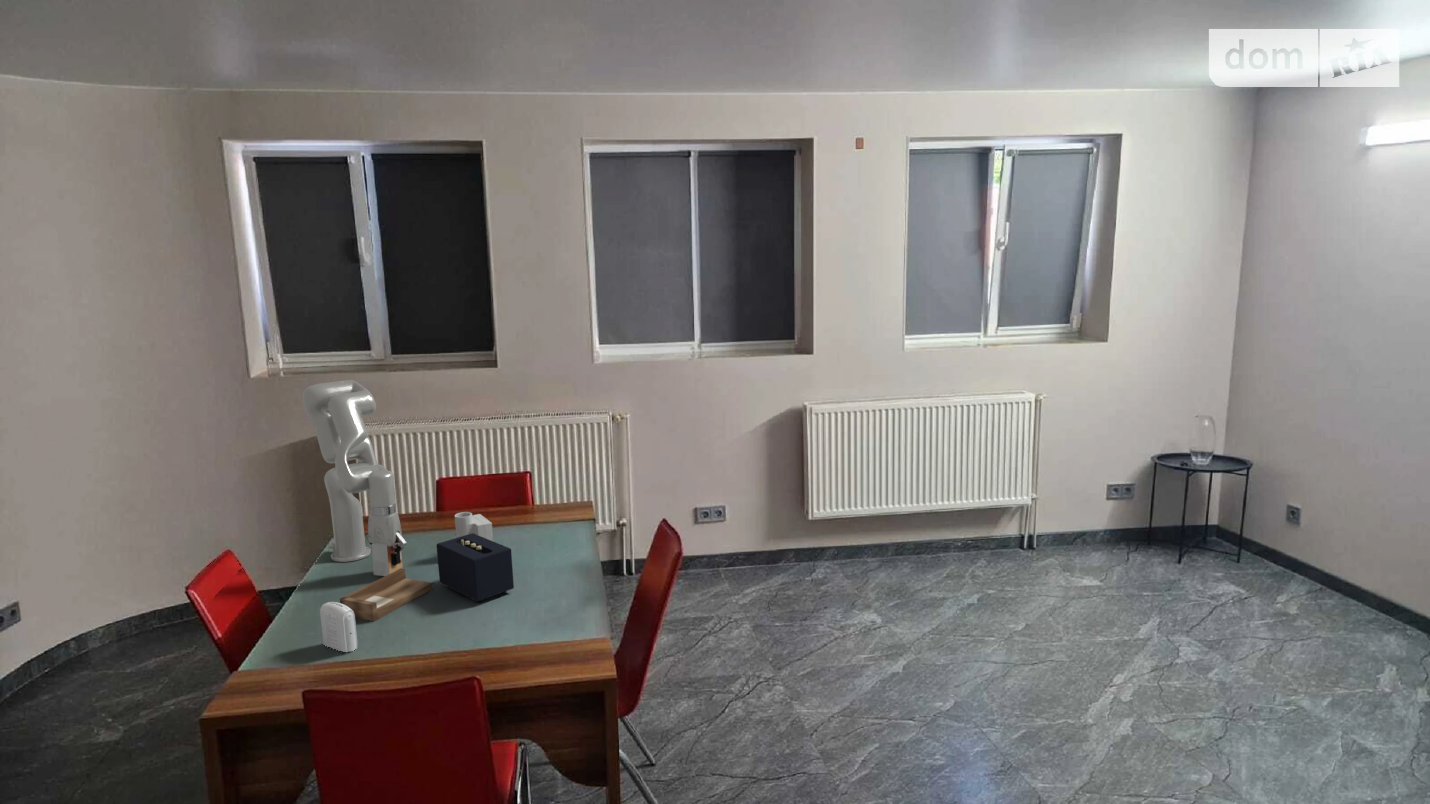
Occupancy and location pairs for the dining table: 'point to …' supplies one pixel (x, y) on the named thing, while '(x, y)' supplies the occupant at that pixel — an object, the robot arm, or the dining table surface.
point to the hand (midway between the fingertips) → (387, 561)
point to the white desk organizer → (473, 525)
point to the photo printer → (338, 627)
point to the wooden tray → (384, 595)
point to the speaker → (475, 566)
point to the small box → (384, 560)
